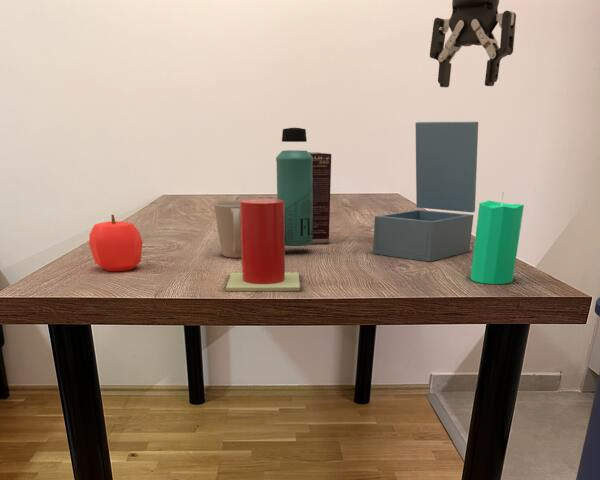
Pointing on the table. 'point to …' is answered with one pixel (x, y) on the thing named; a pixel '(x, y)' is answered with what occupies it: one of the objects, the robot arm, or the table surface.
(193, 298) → the table surface
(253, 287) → the mat
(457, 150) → the lid
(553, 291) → the table surface
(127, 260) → the apple
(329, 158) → the supplement box
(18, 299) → the table surface
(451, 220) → the chest
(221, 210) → the cup
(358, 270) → the table surface
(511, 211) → the candle
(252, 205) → the red cylinder
